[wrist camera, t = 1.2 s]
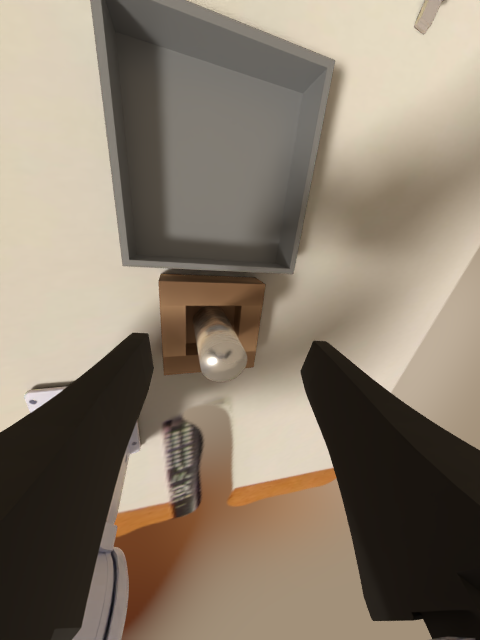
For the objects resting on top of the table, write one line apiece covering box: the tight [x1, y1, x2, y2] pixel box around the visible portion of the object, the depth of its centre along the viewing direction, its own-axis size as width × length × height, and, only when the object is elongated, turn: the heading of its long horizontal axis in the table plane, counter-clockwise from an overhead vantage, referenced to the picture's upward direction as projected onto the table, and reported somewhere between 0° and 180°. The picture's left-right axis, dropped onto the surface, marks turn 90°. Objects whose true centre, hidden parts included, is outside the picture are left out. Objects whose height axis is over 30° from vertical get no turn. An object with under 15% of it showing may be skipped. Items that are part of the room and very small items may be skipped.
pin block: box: [159, 274, 266, 375], centre depth 18 cm, size 8×8×2 cm
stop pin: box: [193, 306, 247, 382], centre depth 16 cm, size 3×3×6 cm
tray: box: [90, 0, 335, 274], centre depth 14 cm, size 12×12×3 cm
